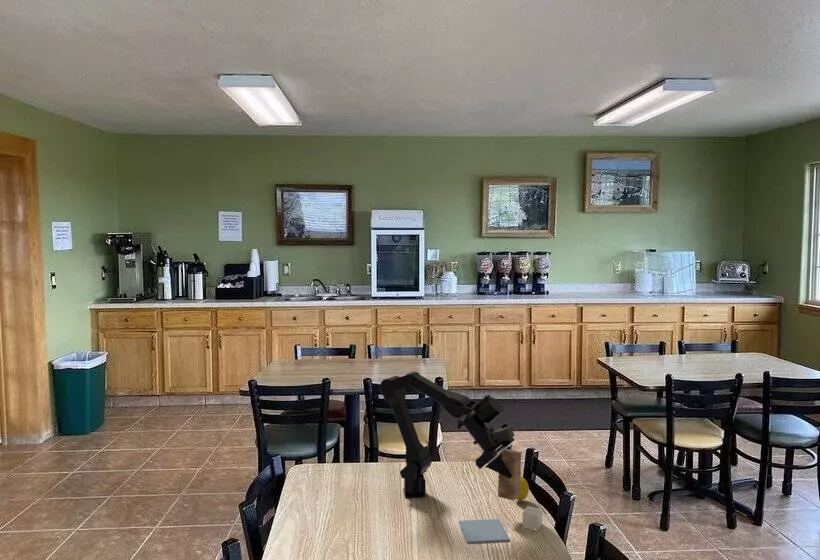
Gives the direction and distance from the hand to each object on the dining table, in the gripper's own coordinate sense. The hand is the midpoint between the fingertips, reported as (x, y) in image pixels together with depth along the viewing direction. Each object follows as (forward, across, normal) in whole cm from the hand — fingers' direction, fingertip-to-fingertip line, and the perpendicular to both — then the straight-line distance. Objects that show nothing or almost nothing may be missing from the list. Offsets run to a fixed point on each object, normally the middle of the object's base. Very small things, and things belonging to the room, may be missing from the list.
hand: (514, 474), depth 171 cm
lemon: (+8, +12, +11) cm, 18 cm away
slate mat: (+6, -12, +13) cm, 18 cm away
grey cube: (+14, -1, +5) cm, 15 cm away
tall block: (+4, 0, +6) cm, 7 cm away
